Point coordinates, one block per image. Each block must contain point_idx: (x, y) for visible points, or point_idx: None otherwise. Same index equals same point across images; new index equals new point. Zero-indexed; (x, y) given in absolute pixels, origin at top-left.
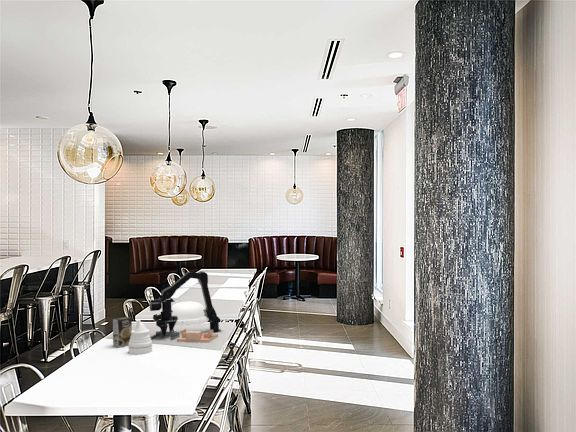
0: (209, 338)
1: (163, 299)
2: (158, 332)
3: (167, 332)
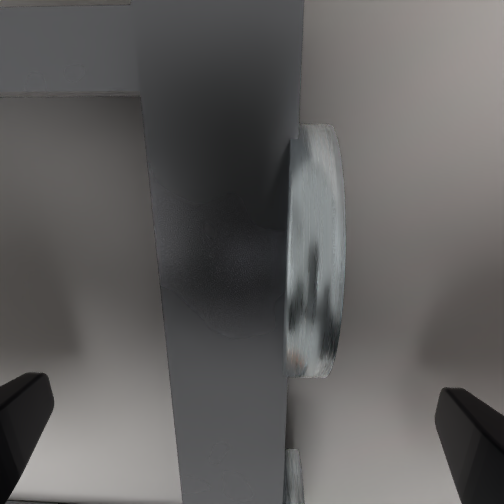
0: None
1: None
2: (151, 140)
3: (182, 465)
